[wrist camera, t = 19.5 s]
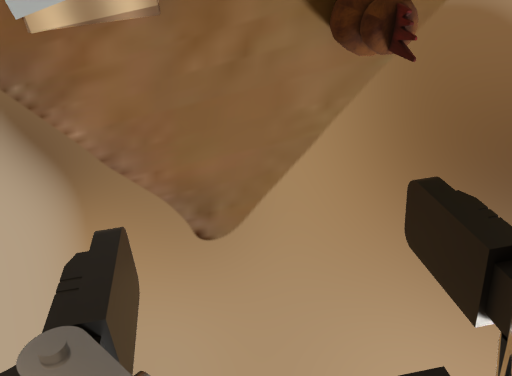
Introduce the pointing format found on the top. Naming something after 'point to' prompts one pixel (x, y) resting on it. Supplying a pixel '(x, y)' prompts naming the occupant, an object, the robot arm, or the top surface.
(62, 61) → the top surface
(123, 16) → the tower base
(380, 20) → the wooden figurine
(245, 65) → the top surface
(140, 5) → the tower top
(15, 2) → the block
